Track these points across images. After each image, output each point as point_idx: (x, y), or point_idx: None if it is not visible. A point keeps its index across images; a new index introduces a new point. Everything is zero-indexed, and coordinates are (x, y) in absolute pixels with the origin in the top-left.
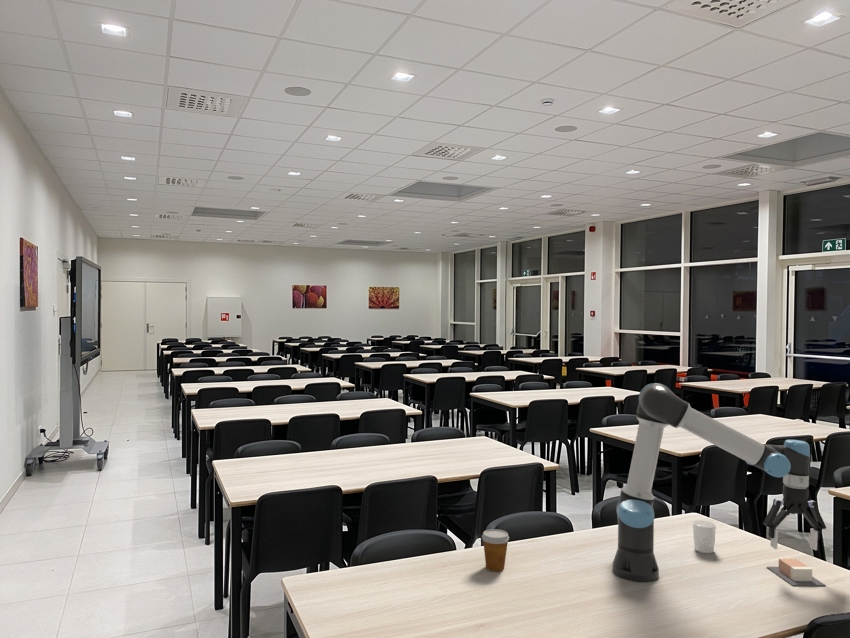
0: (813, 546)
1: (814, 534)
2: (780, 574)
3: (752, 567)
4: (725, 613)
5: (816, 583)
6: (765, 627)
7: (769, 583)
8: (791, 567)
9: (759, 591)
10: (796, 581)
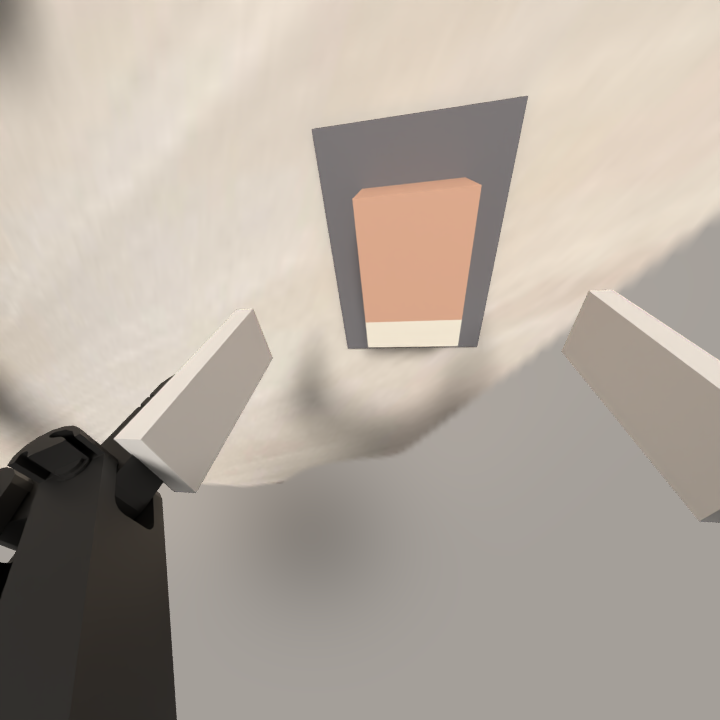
0: (582, 349)
1: (667, 457)
2: (345, 253)
3: (233, 136)
4: None
5: None
6: (228, 480)
7: (276, 329)
8: (366, 326)
9: None
10: None
